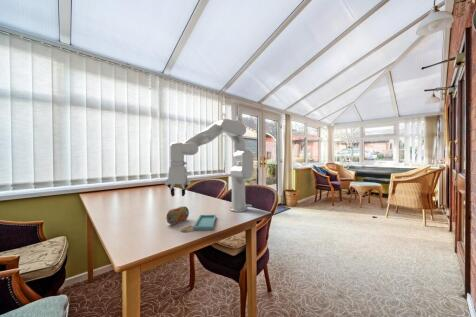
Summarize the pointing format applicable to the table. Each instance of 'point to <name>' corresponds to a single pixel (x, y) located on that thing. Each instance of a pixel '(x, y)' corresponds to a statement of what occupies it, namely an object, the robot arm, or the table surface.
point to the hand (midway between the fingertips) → (178, 195)
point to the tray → (205, 222)
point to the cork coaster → (186, 229)
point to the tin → (177, 215)
